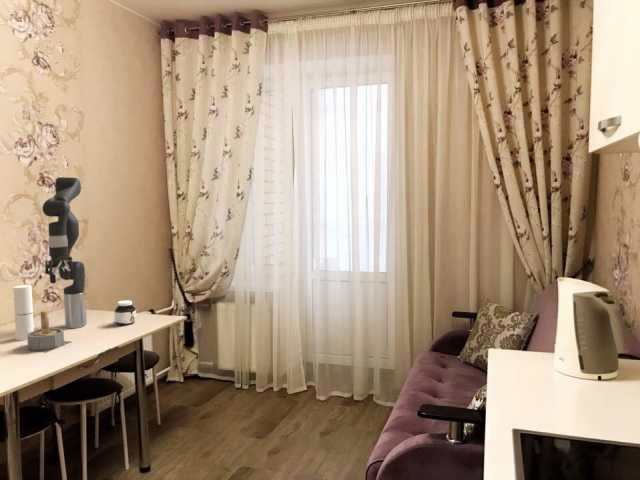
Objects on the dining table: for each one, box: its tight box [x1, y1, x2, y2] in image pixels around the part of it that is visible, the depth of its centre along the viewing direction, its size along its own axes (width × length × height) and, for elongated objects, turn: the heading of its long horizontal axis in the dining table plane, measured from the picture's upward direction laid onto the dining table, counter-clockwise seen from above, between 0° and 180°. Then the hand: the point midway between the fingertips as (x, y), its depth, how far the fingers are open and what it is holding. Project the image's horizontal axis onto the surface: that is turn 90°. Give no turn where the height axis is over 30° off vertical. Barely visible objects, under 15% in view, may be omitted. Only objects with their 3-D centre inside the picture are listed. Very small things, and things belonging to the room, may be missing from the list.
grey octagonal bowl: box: [26, 327, 65, 351], centre depth 218 cm, size 14×14×6 cm
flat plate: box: [18, 340, 73, 353], centre depth 218 cm, size 16×14×1 cm
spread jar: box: [114, 300, 137, 327], centre depth 260 cm, size 12×11×12 cm
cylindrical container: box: [13, 284, 35, 342], centre depth 228 cm, size 7×7×25 cm
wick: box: [40, 310, 50, 334], centre depth 217 cm, size 3×3×14 cm
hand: (60, 281), depth 223 cm, fingers open, 8 cm apart
